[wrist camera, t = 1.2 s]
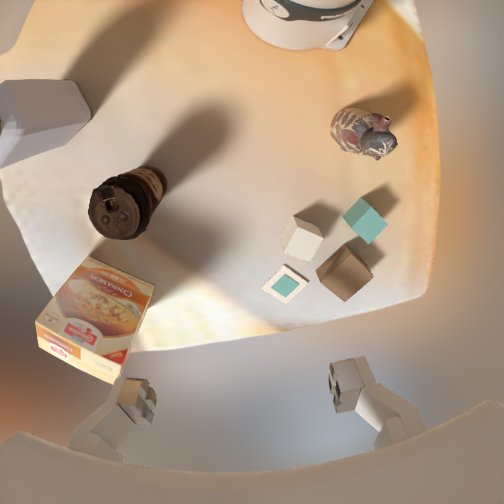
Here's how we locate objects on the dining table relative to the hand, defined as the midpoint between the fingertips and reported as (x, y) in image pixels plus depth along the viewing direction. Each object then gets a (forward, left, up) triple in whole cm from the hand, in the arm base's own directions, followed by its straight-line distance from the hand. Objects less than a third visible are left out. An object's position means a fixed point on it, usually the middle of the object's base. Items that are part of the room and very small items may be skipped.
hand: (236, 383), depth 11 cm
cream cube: (+1, +12, -34) cm, 36 cm away
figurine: (-17, +7, -34) cm, 39 cm away
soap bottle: (+7, -32, -34) cm, 47 cm away
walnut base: (+1, +23, -34) cm, 41 cm away
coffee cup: (+9, -12, -34) cm, 37 cm away
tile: (+10, +17, -34) cm, 39 cm away
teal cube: (-8, +18, -34) cm, 39 cm away
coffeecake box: (+30, -8, -34) cm, 46 cm away
